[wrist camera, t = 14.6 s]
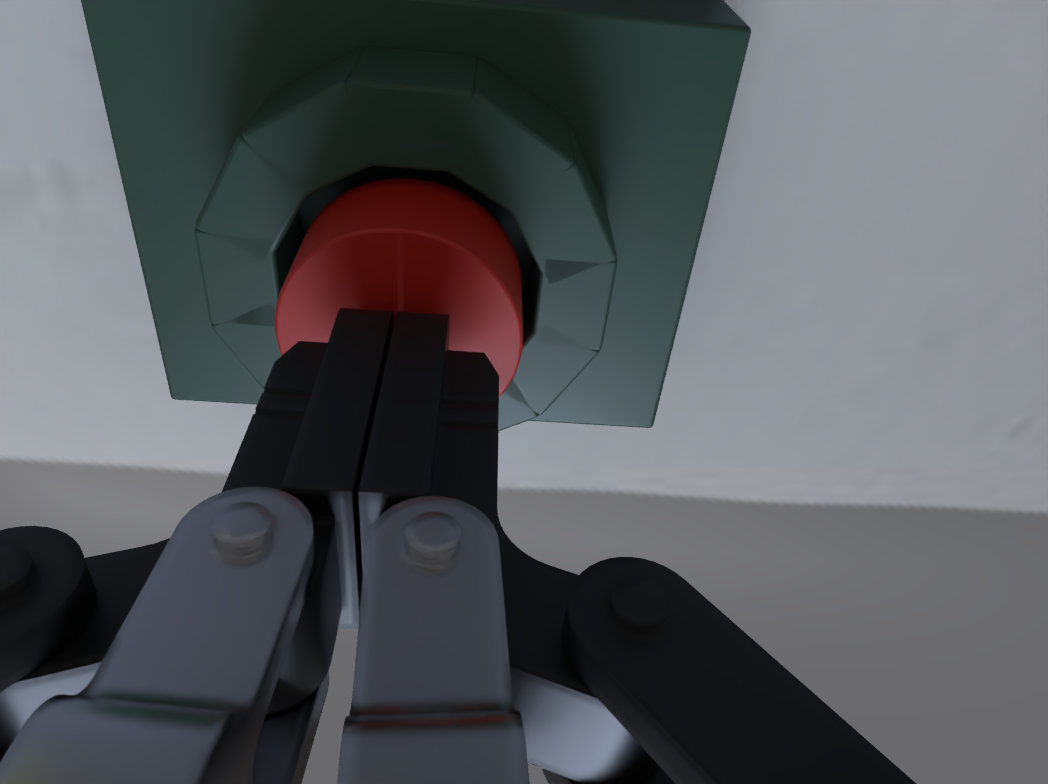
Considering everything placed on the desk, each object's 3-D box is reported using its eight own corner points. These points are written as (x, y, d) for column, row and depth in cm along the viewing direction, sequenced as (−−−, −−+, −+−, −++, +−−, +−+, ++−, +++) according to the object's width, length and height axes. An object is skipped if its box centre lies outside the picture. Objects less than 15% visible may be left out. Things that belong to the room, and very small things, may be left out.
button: (531, 186, 12) (534, 239, 11) (511, 376, 14) (512, 441, 13) (289, 166, 12) (260, 218, 10) (308, 364, 14) (285, 428, 13)
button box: (722, -4, 14) (786, 62, 11) (639, 368, 19) (666, 489, 15) (128, -63, 13) (6, -12, 10) (202, 340, 18) (137, 460, 15)
